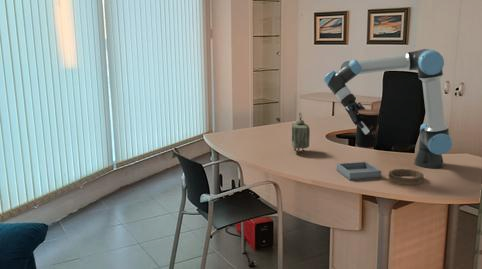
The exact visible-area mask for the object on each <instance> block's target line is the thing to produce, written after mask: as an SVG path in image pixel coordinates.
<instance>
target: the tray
mask: <svg viewBox="0 0 482 269" xmlns="http://www.w3.org/2000/svg"><path fill="white" fill-rule="evenodd" d="M336 172H338V173H339V174H340V175H341V176H343V177H344V178H345V179H347V180H348V181H350V182H351V181H358V180H359V181H360V180H361V181H363V180H375V179H381V178H382V170H380V169H379V168H377V167H376V166H374V165H372V164H371V163H369V162H368V161H355V162H354V161H353V162H339V163H336Z"/></svg>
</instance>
